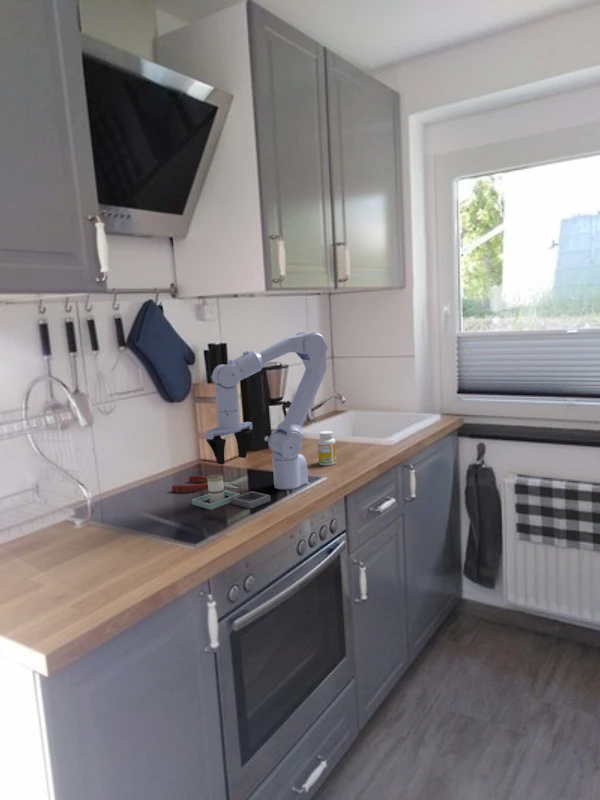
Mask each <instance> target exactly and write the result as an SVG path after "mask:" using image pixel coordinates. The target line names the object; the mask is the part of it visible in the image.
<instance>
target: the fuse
mask: <svg viewBox="0 0 600 800" xmlns="http://www.w3.org/2000/svg"><path fill="white" fill-rule="evenodd" d="M206 477H207V481H208V488H207V489H208V490H207V491H208V494H209V499H208V500H209V503H210V504H212V503H214V502H217V501H220V500H223V499H226V498H225V497H226V496H225V495H224V490H225V488H224V485H223V481H224V475H223V474H220V473H219V474H210V475H208V476H206Z"/></svg>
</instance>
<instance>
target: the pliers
mask: <svg viewBox="0 0 600 800" xmlns="http://www.w3.org/2000/svg"><path fill="white" fill-rule="evenodd" d="M207 477H208V476H204V475H190V476H189V477H188V482H189V483H193V484H174V485H173V486H172V488H171V489H172V490H171V491H172V493H176V494H177V493H179V494H180V493H181V494H188V493H189V494H191V493H197V492H201V491H204V490H207V489H208V481H207ZM194 483H196V484H194ZM223 485H224V489H242V488H241V486H243V487H244V486H246V485H245V484H241V483H234V482H226V481H225V480H223ZM238 486H240V487H238Z"/></svg>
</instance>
